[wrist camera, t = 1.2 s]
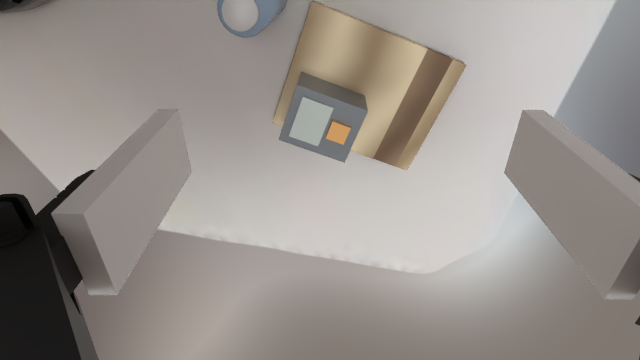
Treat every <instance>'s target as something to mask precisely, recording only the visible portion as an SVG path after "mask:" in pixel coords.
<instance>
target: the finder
mask: <svg viewBox="0 0 640 360" xmlns="http://www.w3.org/2000/svg"><path fill="white" fill-rule="evenodd" d="M367 113H368V108H367V103H366V99H365V95H362V94H359V93H357V92H354V91H351V90H349V89H346V88H344V87H341V86H338V85H336V84H333V83H330V82H328V81H325V80H323V79H320V78H317V77H315V76H312V75H309V74H307V73H304V72H301V74H300V77H299V80H298V83H297V86H296V89H295V92H294V94H293V97H292V100H291V103H290V106H289V109H288V112H287V115H286V118H285V121H284V124H283V127H282V130H281V133H280V137H279V140H281V141H284V142H287V143H290V144H293V145H296V146H298V147H301V148H304V149H307V150H310V151H313V152H316V153H319V154H321V155H324V156H327V157H330V158H333V159H336V160H339V161H342V162H344V163H345V160H346V158H347V156H348V154H349V152H350V150H351V147H352V145H353V143H354V141H355V139H356V137H357V134H358V132H359V130H360V128H361V126H362V124H363V121H364V119H365V117H366V115H367Z"/></svg>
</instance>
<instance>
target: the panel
mask: <svg viewBox="0 0 640 360" xmlns="http://www.w3.org/2000/svg"><path fill="white" fill-rule="evenodd" d="M465 67H466V64H464V63H463V62H461V61H459V60H456V59H454V58H451V57H449V56H447V55H444V54H442V53H439V52H437V51H434V50H432V49H430V48H427V47H425V46H422V45H420V44H417V43H415V42H413V41H410V40H408V39H405V38H403V37H400V36H398V35H396V34H393V33H391V32H388V31H386V30H383V29H381V28H379V27H376V26H374V25H371V24H369V23H366V22H364V21H362V20H359V19H357V18H354V17H352V16H349V15H347V14H345V13H342V12H340V11H337V10H335V9H332V8H330V7H328V6H325V5H323V4H320V3H318V2H315V1H312V3H311V6H310V9H309V12H308V15H307V18H306V21H305V24H304V27H303V30H302V34H301V37H300V40H299V43H298V46H297V49H296V52H295V55H294V58H293V61H292V64H291V67H290V70H289V73H288V76H287V80H286V83H285V86H284V89H283V92H282V95H281V98H280V101H279V104H278V107H277V110H276V113H275V116H274V119H273V122H272V123H274V124H277V125H280V126H282V127H283V124H284V121H285V118H286V115H287V112H288V109H289V106H290V103H291V100H292V97H293V94H294V92H295V89H296V86H297V83H298V80H299V77H300V74H301V72H304V73H307V74H309V75H312V76H315V77H317V78H320V79H323V80H325V81H328V82H330V83H333V84H336V85H338V86H341V87H344V88H346V89H349V90H351V91H354V92H357V93H359V94H362V95H365V99H366V103H367V108H368V113H367V115H366V117H365V119H364V121H363V124H362V126H361V128H360V130H359V132H358V134H357V137H356V139H355V141H354V143H353V145H352V147H351V150H350V151H353V152H356V153H359V154H362V155H364V156H367V157H370V158H373V159H376V160H379V161H382V162H385V163H387V164H390V165H393V166H396V167H399V168H401V169H404V170H408V168H409V166H410V164H411V163H412V161H413V159H414V157H415V155H416V154H417V152H418V150H419V148H420V147H421V145H422V143H423V141H424V140H425V138H426V136H427V134H428V132H429V131H430V129H431V127H432V125H433V124H434V122H435V120H436V118H437V117H438V115H439V113H440V111H441V109H442V108H443V106H444V104H445V102H446V101H447V99H448V97H449V95H450V94H451V92H452V90H453V88H454V87H455V85H456V83H457V81H458V79H459V78H460V76H461V74H462V72H463V71H464V69H465Z"/></svg>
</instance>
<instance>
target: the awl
mask: <svg viewBox="0 0 640 360" xmlns="http://www.w3.org/2000/svg"><path fill="white" fill-rule="evenodd" d="M285 4H286V0H218V15H219V18H220V20H221V22H222V24H223V25H224V27H225V28H226V29H227V30H228V31H229V32H231V33H232V34H234V35H236V36H239V37H252V36H255V35H257V34H258V33H259V32H261V31H262V30H263V29H264V28H265V27H266V26H267V25H268V24H269V23H270V22H271V21H272V20H273V19H274V18H275V17H276V16H277V15H278V14H279V13H280V12H281V11H282V10H283V9H284V7H285Z"/></svg>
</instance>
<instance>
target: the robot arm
mask: <svg viewBox="0 0 640 360" xmlns="http://www.w3.org/2000/svg"><path fill="white" fill-rule="evenodd" d="M47 1H48V0H0V14H4V13H10V12H17V11H23V10H28V9H32V8H35V7H38V6H40V5H42V4H44V3H45V2H47ZM190 173H191V167H190V162H189V157H188V152H187V148H186V143H185V138H184V134H183V129H182V124H181V120H180V115H179V110H178V109H158V110H157V111H156V112H155V113H154V114H153V115H152V116H151V117H150V118H149V119H148V120H147V121H146V122H145V123H144V124H143V125H142V126H141V127H140V128H139V129H138V130H137V131H136V132H135V133H134V134H133V135H131V136H130V137H129V138H128V139H127V140H126V141H125V142H124V143H123V144H122V145H121V146H120V147H119V148H118V149H117V150H116V151H115V152H114V153H113V154H112V155H111V156H110V157H109V158H108V159H107V160H106V161H105V162H104V163H103V164H101V165H100V166H99V167H98V168H97V169H96V170H90V171H88V172H86V173H85V174H83V175H81V176H79V177H77V178H76V179H74V180H73V181H72V182H71V183H70V184H69V185H68V186H67V187H66V188H65V190H63V191H61V192H60V193H59V194H58V195H57V198H54V199H53V200H52V201H51V202H50V203H48V204H47V205H46V206H45V207H44V208H43V209H42V210H41V211H40V212H39V213H38V214H37V215H35V213H34V211H33V209H32V207H31V206H30V203H29V201H28V200H27V198H26V197H25V196H24V195H20V194H3V195H0V360H98V357H97V354H96V351H95V348H94V345H93V342H92V340H91V336H90V334H89V331H88V328H87V325H86V322H85V319H84V316H83V313H82V310H81V308H80V305H79V302H78V299H77V297H76V295H75V293H74V289H75V288H76V287H77V285H78V284H79V283H80V281H81V280H83V282H84V284H85V286H86V289H87V291H88V293H89V295H118V293H119V291H120V290H121V288H122V286H123V285H124V283H125V281H126V280H127V278H128V276H129V275H130V273H131V271H132V270H133V268H134V266H135V265H136V263H137V261H138V260H139V258H140V256H141V255H142V253H143V251H144V250H145V248H146V246H147V245H148V243H149V241H150V240H151V238H152V236H153V235H154V233H155V231H156V230H157V228H158V226H159V225H160V223H161V221H162V220H163V218H164V216H165V215H166V213H167V211H168V210H169V208H170V206H171V205H172V203H173V201H174V200H175V198H176V196H177V195H178V193H179V191H180V190H181V188H182V186H183V185H184V183H185V181H186V180H187V178H188V176H189V175H190ZM504 173H505V174H506V176H507V177H508V178H509V179H510V181H511V182H512V183H513V184H514V186H515V187H516V188H517V189H518V191H519V192H520V193H521V194H522V196H523V197H524V198H525V199H526V201H527V202H528V203H529V204H530V206H531V207H532V208H533V210H534V211H535V212H536V213H537V215H538V216H539V217H540V218H541V220H542V221H543V222H544V223H545V225H546V226H547V227H548V228H549V230H550V231H551V232H552V233H553V235H554V236H555V237H556V239H557V240H558V241H559V242H560V243H561V245H562V246H563V247H564V249H565V250H566V251H567V252H568V254H569V255H570V256H571V257H572V259H573V260H574V261H575V263H576V264H577V265H578V266H579V268H580V269H581V270H582V271H583V273H584V274H585V275H586V276H587V278H588V279H589V280H590V281H591V282H592V284H593V285H594V286H595V288H596V289H597V290H598V291H599V293H600V294H601V295H602V297H603V298H604V299H634V297H635V296H636V294H637V293H638V291H639V290H640V178H638V177H635V176H633V175H631V174H629V173H627V172H625V171H624V170H623V169H621V168H620V167H619V166H617V165H616V164H614V163H613V162H612V161H610V160H609V159H608V158H607V157H605V156H604V155H603V154H601V153H600V152H598V151H597V150H596V149H595V148H593V147H592V146H590V145H589V144H588V143H586V142H585V141H584V140H582V139H581V138H580V137H578V136H577V135H576V134H574V133H573V132H572V131H570V130H569V129H567V128H566V127H565V126H563V125H562V124H561V123H560V122H558V121H557V120H556V119H554V118H553V117H552V116H550V115H549V114H548V113H546V112H545V111H544V110H523V111H522V114H521V118H520V121H519V124H518V128H517V131H516V134H515V138H514V141H513V145H512V148H511V151H510V155H509V158H508V161H507V165H506V168H505V172H504ZM635 324H638V325H640V317H639V318H638V320H637V321H636V322H635ZM639 360H640V357H639Z"/></svg>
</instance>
